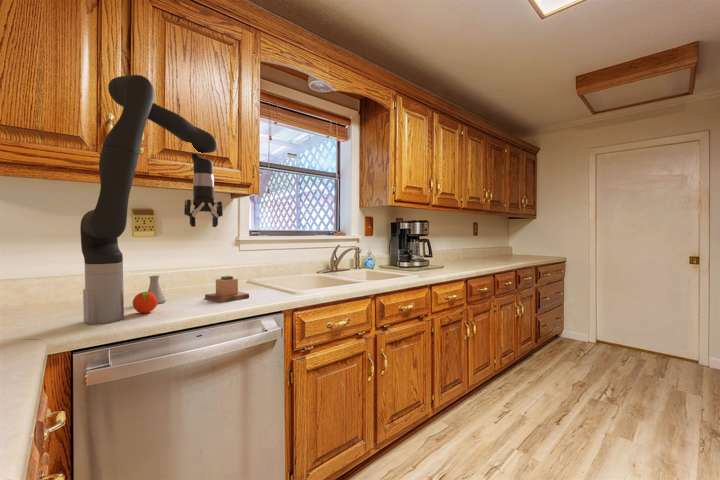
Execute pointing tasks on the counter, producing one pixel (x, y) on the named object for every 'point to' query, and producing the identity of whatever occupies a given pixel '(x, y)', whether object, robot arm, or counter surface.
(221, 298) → the post base
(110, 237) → the robot arm
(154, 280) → the flask
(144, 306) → the red tomato
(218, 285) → the collar
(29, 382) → the counter surface
